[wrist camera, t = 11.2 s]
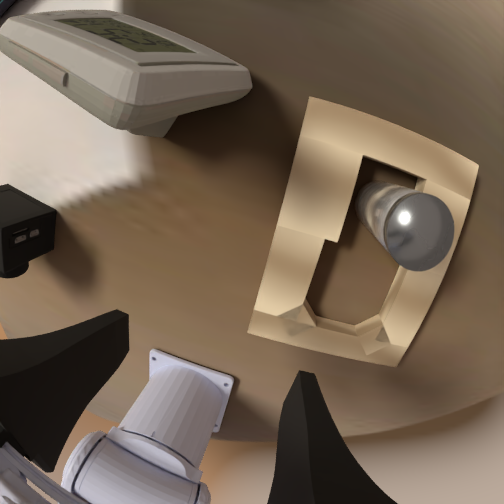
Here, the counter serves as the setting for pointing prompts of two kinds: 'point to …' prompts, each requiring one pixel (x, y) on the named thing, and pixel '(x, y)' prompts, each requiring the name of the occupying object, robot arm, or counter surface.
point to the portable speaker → (5, 5)
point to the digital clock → (123, 67)
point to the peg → (406, 223)
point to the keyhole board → (330, 225)
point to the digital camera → (23, 230)
